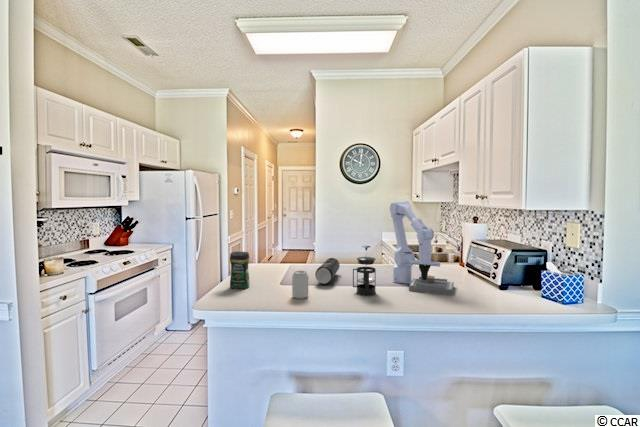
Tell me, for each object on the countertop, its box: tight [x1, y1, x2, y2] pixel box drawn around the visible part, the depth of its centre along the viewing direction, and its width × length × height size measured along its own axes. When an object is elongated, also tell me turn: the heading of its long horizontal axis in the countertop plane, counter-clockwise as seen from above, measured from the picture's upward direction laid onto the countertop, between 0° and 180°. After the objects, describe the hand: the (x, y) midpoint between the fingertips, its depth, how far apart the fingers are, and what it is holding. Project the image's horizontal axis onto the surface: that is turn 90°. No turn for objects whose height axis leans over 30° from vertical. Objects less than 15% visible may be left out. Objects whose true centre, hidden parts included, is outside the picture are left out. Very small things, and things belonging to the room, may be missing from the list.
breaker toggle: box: [428, 275, 436, 284], centre depth 175 cm, size 3×3×4 cm
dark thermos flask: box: [315, 257, 341, 285], centre depth 196 cm, size 10×28×10 cm, turn 169°
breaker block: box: [408, 272, 455, 296], centre depth 178 cm, size 20×16×7 cm
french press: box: [352, 245, 377, 297], centre depth 170 cm, size 12×9×23 cm
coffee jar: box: [229, 251, 251, 290], centre depth 181 cm, size 10×8×19 cm
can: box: [291, 270, 309, 300], centre depth 164 cm, size 8×8×12 cm
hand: (424, 279), depth 176 cm, fingers closed
